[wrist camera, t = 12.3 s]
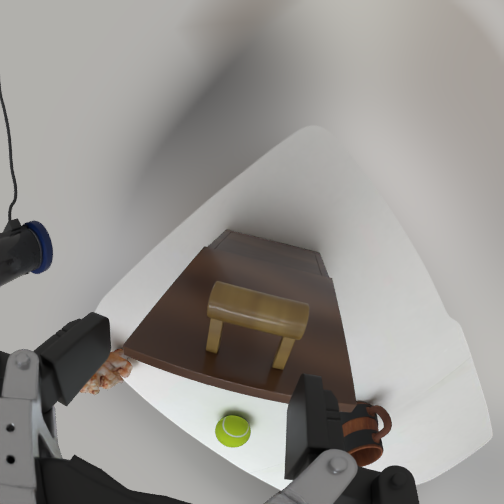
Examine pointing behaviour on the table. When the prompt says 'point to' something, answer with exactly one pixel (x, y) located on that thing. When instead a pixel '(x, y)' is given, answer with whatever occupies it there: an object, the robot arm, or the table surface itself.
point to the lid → (247, 329)
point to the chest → (270, 252)
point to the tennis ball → (232, 431)
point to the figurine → (109, 373)
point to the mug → (364, 432)
